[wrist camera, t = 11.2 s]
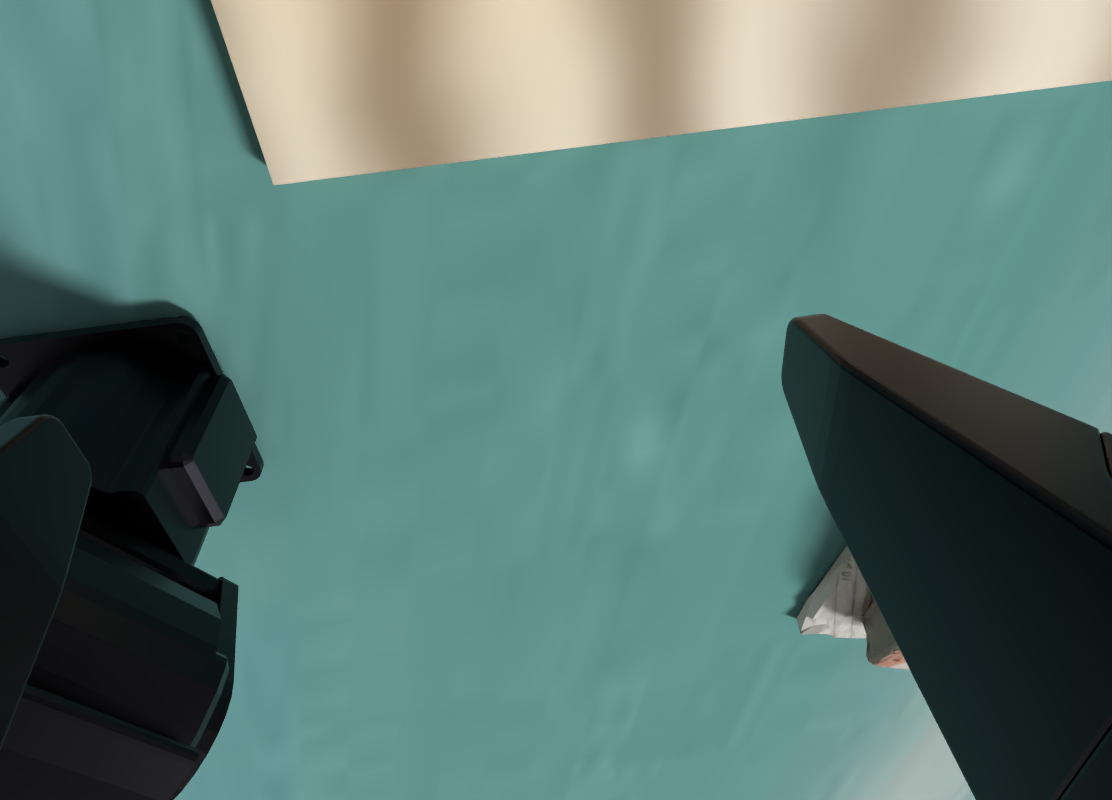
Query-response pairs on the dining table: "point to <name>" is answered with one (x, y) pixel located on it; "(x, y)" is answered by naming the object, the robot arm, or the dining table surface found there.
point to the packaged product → (850, 613)
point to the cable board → (618, 69)
